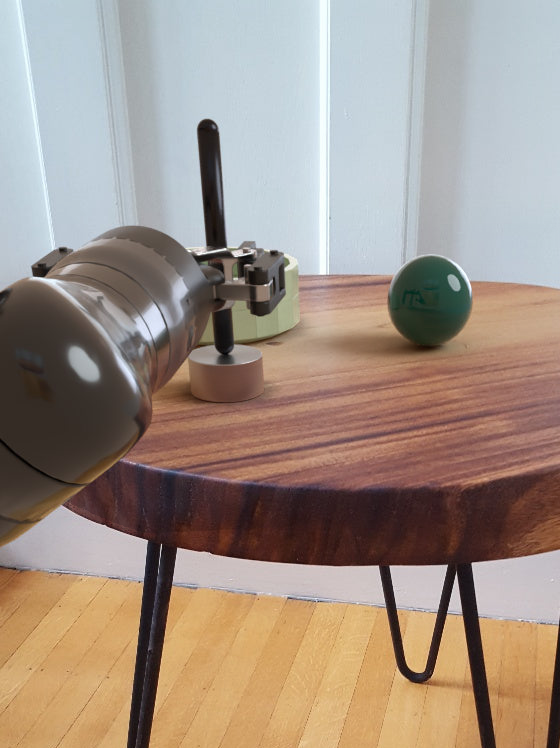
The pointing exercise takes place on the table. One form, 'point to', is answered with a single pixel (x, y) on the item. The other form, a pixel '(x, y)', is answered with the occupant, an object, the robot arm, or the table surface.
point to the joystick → (224, 359)
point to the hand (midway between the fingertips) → (187, 256)
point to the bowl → (268, 325)
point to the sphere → (430, 300)
